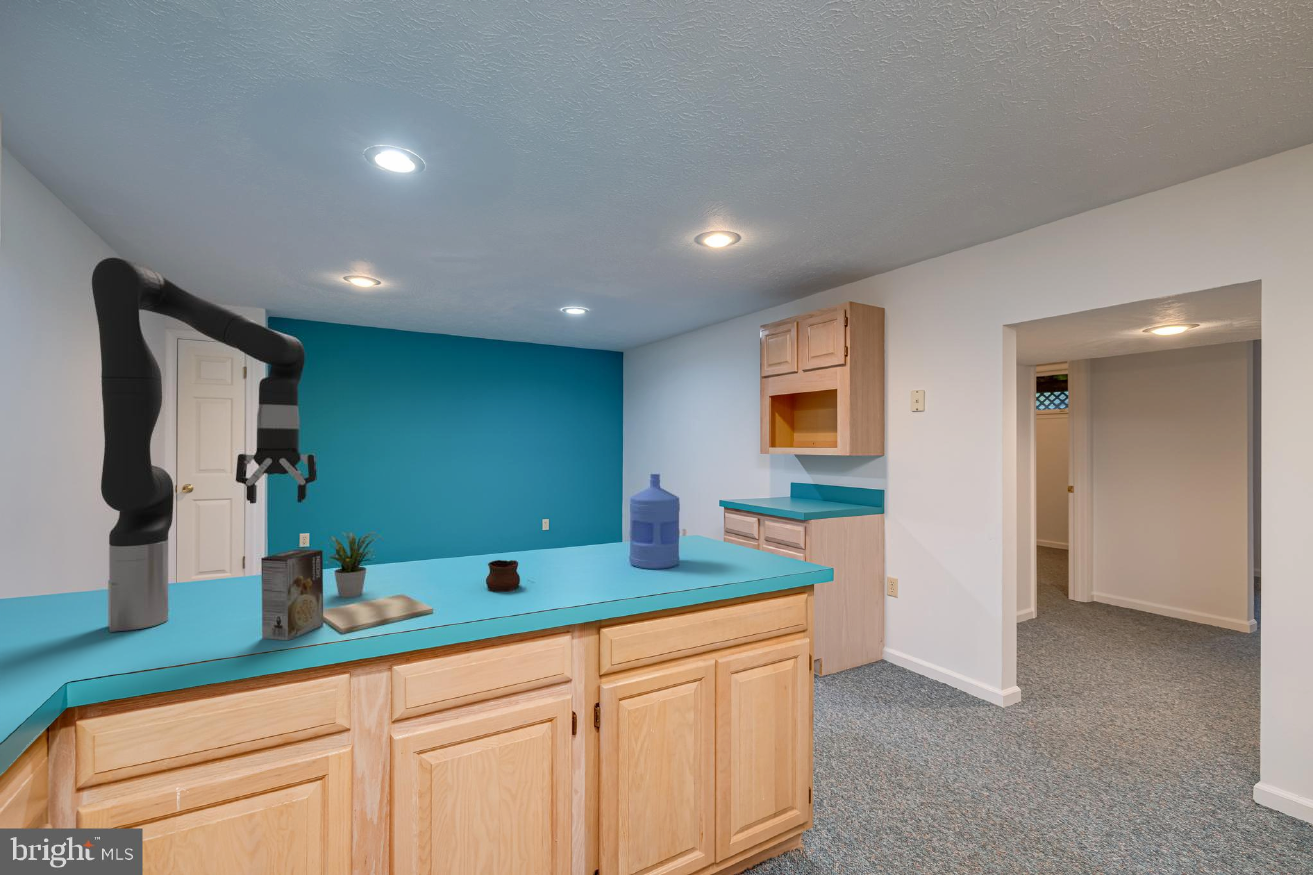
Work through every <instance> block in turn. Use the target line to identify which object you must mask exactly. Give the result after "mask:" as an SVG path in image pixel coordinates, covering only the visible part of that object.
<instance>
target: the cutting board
mask: <svg viewBox="0 0 1313 875" xmlns="http://www.w3.org/2000/svg"><path fill="white" fill-rule="evenodd" d="M433 613H434V607H431V606H429V605H428V604H425V603H423V602H420V601H418V600H417V599H414V598H412V597H410V596H408V595H405V594H403V593H401V594H398V595H392V596H387V597H381V598H377V599H373V600H372V599H371V600H365V601H361V602H356V603H353V604H346V605H342V606H336V607H332V608H326V609H323V622H325V623H326V624H327V625H329V626H330V627H332V628H333V629H335V631H338V632H339V633H340V634H348V633H350V632H356V631H360V630H363V629H369V628H371V627H373V628H374V627H377V626H381V625H382V626H383V625H386V624H391V623H394V622H399V621H402V620H403V621H404V620H408V619H411V618H417V617H421V616H425V615H429V614H433Z"/></svg>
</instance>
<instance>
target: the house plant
mask: <svg viewBox="0 0 1313 875" xmlns="http://www.w3.org/2000/svg"><path fill="white" fill-rule="evenodd" d="M345 531H346V533H347V534H346V533H345V532H343V535H344V536H345V537H346V540H347V543H348V547H349V553H348V550H347V549H346V548H345V546H344V545H343V543H342V542H341V541H340V540H339V539H337V538H336V537H334V536H332V535H331V536H330V535H329V537H330V538H331V539H332V540H333V541H334V543H335V544H336V547H335V545H332V544H331V543H329V542H325V544H328V545H329V546H330V547H332V548H333V549H334V550H335V553H336V554H333V555H324V556H325V557H327V558H331V559H333V560H334V561H331V560H329V561H326V562H325V564H329V563H330V564H331V563H332V564H335V565H336V566H338V568H337V569H335V570H334V577H335V583H336V589H337V593H338V594H337V595H338V597H339V598H345V599H346V598H353V597H358V596H361V595H362V594H363V592H364V586H365V579H366V574H367V567H364V566H361V564H362V563H363V562H367V561H368V562H372V559H369V558H368V557H373V558H374V559H376V557H375V555H374V554H370V555H369V553H371V551H372V550H375V549H376V548H371V549H369V550H367V551H366V549H367V548H368V546H369V545H370V544H371V543H372V542H373V541H374V540H376V539H378V538H379V537H381V538H382V537H383V535H378V536H374V537H373V538H371V539H370V540H369V541H368V542H367V539H368V538H369V537H370V536H371V535H372V534H374V533H377V532H378V531H372V532H370V533H368V534H366V535H365V534H364V535H363V538H362V536H360V537H359V538H358V540H357V539H356V538H357V537H356V536H355V535H354V533H352V532H350V534H349V533H348V532H347V530H345ZM361 539H362V540H361ZM321 542H323V543H324V540H323V541H321ZM366 542H367V544H366ZM364 544H365V545H364ZM363 546H364V547H363ZM362 547H363V549H362ZM361 549H362V550H361ZM360 551H361V552H360ZM365 551H366V552H365ZM365 558H367V559H365ZM335 560H336V562H338V563H340V565H339V564H338V563H336V562H335Z"/></svg>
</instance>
